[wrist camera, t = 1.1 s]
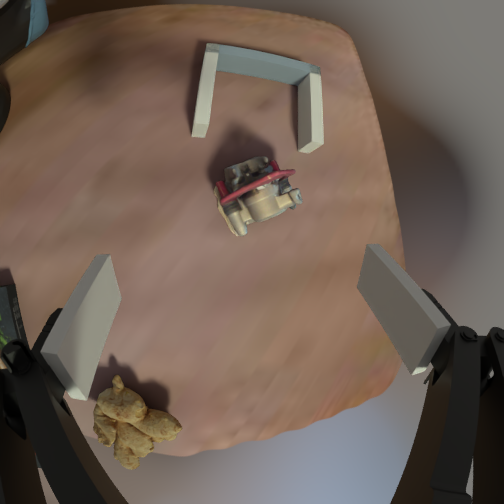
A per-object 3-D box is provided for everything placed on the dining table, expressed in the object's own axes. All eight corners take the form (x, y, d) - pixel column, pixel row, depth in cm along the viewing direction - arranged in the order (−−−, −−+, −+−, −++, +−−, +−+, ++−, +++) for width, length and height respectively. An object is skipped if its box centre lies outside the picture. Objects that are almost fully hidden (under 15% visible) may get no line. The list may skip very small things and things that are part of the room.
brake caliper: (268, 134, 40) (319, 161, 32) (277, 194, 48) (322, 231, 39) (197, 160, 37) (232, 196, 29) (216, 221, 45) (251, 267, 37)
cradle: (308, 153, 44) (323, 144, 40) (191, 136, 39) (194, 123, 35) (307, 80, 44) (320, 67, 40) (203, 60, 39) (207, 42, 34)
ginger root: (142, 357, 37) (144, 393, 30) (193, 418, 43) (202, 452, 35) (66, 390, 34) (57, 425, 26) (122, 444, 40) (124, 477, 32)
